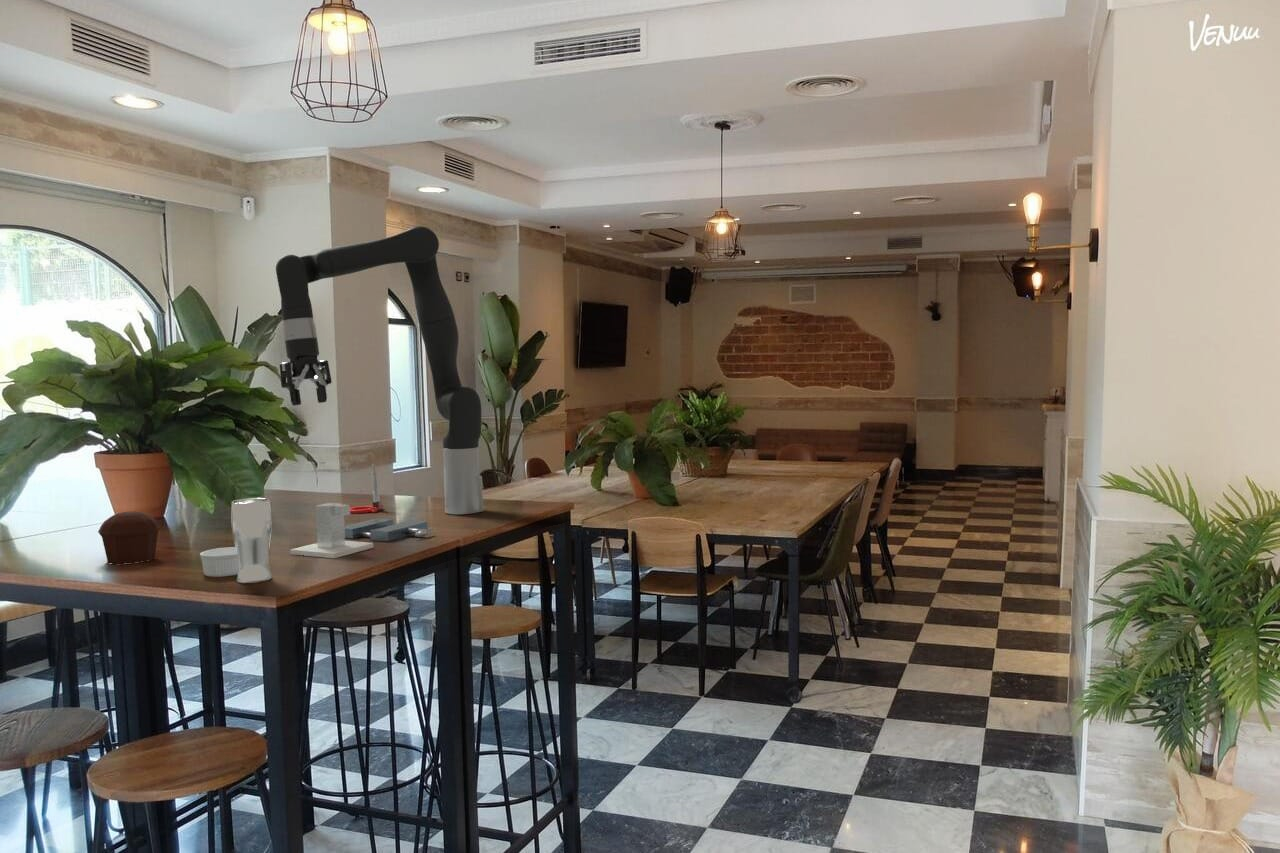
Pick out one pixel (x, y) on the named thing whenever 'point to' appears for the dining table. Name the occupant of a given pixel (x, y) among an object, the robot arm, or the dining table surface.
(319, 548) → the pad
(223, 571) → the ramekin
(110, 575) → the dining table surface
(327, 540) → the glass mug
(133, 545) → the muffin
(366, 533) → the vise
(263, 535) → the beer glass
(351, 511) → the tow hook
